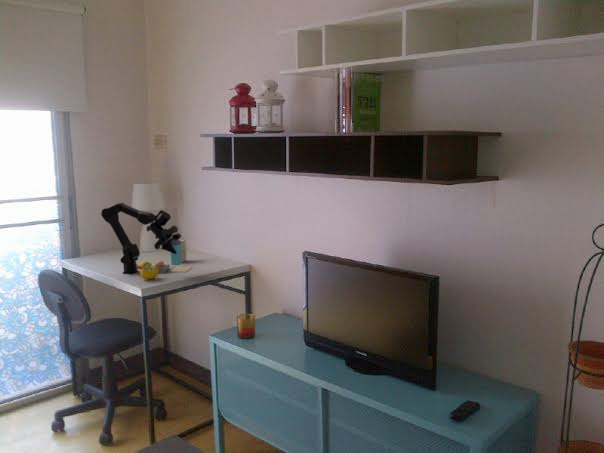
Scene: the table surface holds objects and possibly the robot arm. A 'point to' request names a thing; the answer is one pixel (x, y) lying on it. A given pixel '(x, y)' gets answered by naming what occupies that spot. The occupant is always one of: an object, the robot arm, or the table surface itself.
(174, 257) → the teal cylinder
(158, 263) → the button
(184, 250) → the supplement box
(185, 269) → the sketchbook
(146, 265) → the duckling
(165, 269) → the button housing
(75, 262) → the table surface
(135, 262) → the robot arm
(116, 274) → the table surface
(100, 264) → the table surface
